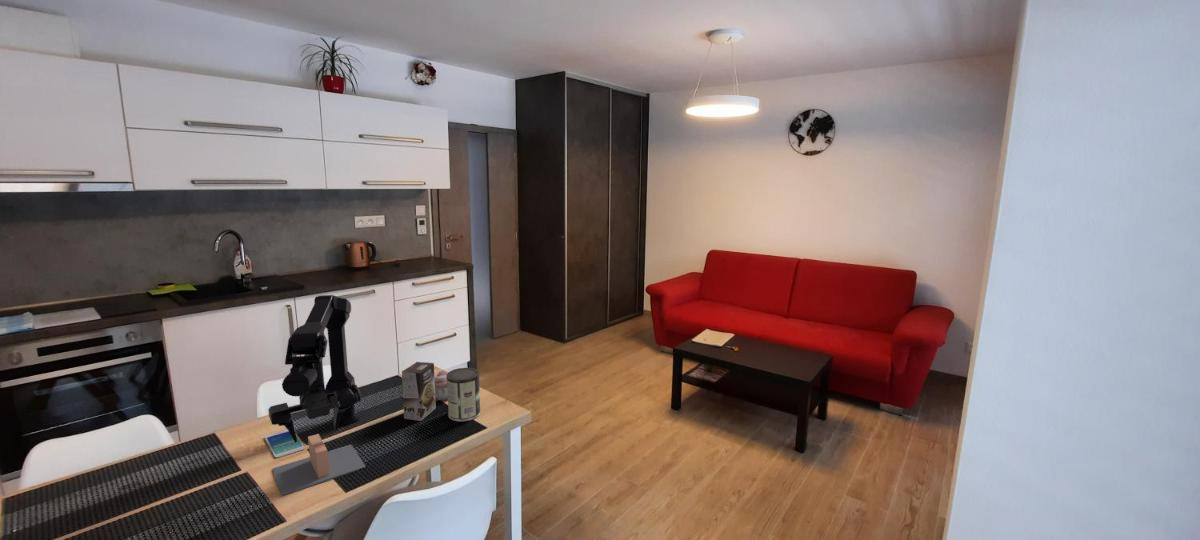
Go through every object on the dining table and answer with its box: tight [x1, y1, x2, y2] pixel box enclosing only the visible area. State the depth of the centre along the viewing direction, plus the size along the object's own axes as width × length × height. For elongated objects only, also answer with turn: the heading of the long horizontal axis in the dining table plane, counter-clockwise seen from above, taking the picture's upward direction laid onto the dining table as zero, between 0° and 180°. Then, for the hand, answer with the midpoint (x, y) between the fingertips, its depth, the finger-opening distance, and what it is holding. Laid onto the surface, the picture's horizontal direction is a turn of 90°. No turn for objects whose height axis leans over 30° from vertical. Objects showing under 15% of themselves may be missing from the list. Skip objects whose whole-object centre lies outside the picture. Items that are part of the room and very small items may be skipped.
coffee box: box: [401, 361, 437, 422], centre depth 159 cm, size 9×6×16 cm
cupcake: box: [434, 369, 449, 401], centre depth 173 cm, size 9×9×10 cm
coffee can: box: [446, 367, 481, 423], centre depth 160 cm, size 10×10×14 cm
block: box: [307, 433, 329, 478], centre depth 129 cm, size 10×2×7 cm, turn 40°
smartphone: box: [264, 428, 306, 459], centre depth 142 cm, size 8×1×15 cm
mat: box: [272, 444, 367, 497], centre depth 130 cm, size 14×19×1 cm
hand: (316, 436), depth 128 cm, fingers open, 9 cm apart
